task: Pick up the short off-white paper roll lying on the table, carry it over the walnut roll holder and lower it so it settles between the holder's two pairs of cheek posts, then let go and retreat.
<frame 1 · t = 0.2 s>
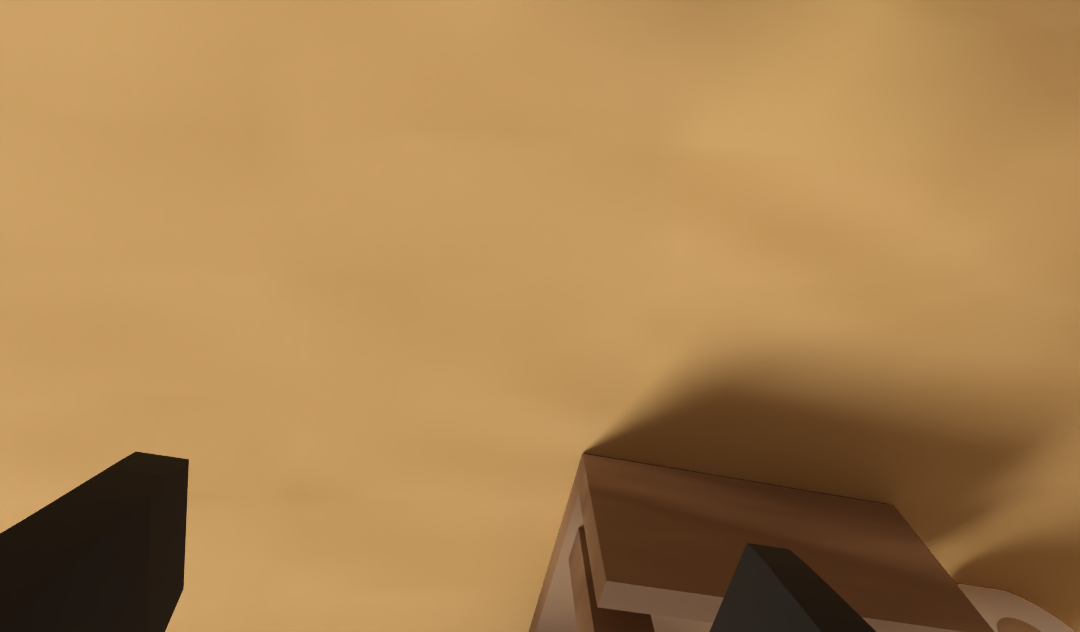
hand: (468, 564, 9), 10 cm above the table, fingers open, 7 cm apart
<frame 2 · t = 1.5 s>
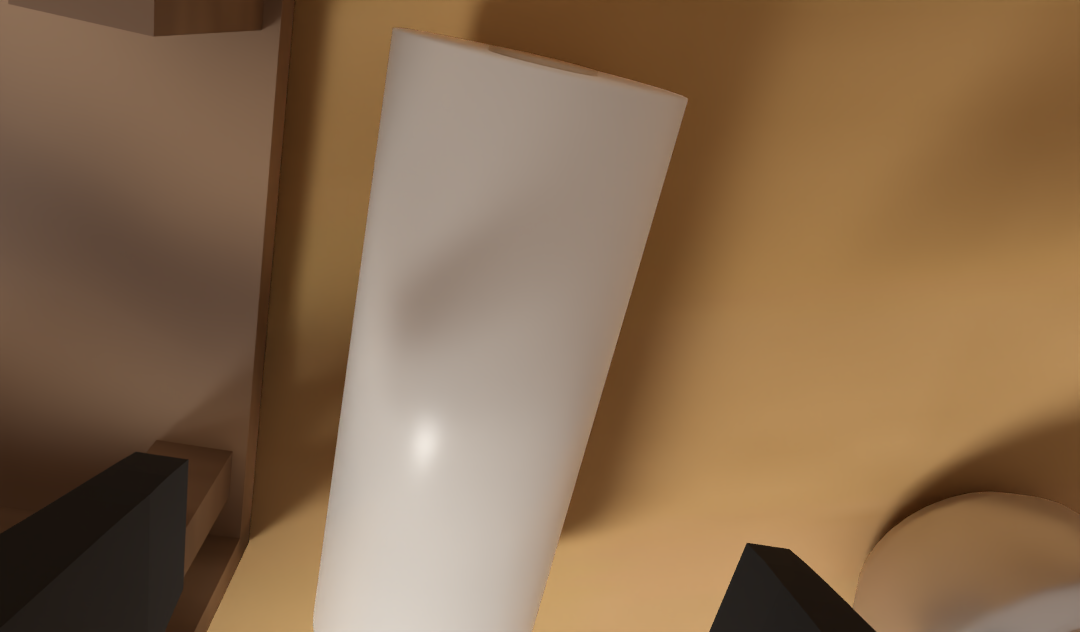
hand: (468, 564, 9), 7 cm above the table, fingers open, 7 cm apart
plastic bottle: (939, 552, 19), on the table
roll: (477, 333, 16), on the table
holder: (14, 207, 14), on the table
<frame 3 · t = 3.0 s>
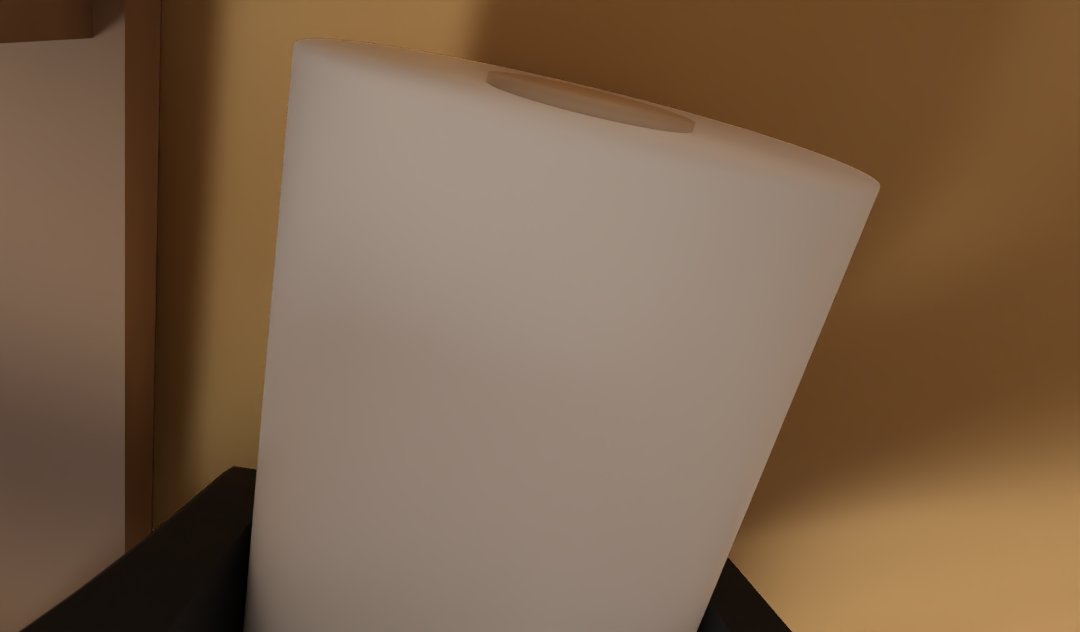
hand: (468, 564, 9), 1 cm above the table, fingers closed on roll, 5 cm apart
roll: (472, 495, 10), on the table, touching gripper
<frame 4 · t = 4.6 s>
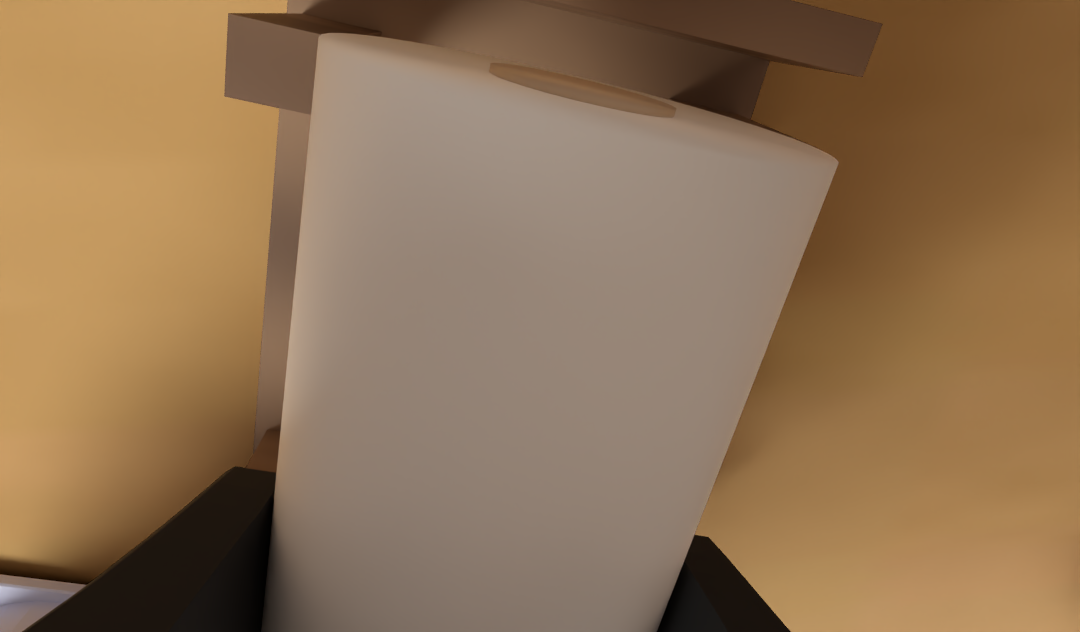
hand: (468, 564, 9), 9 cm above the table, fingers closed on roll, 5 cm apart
roll: (501, 468, 11), point 7 cm above the table, tilted 10°, touching gripper
holder: (481, 294, 18), on the table
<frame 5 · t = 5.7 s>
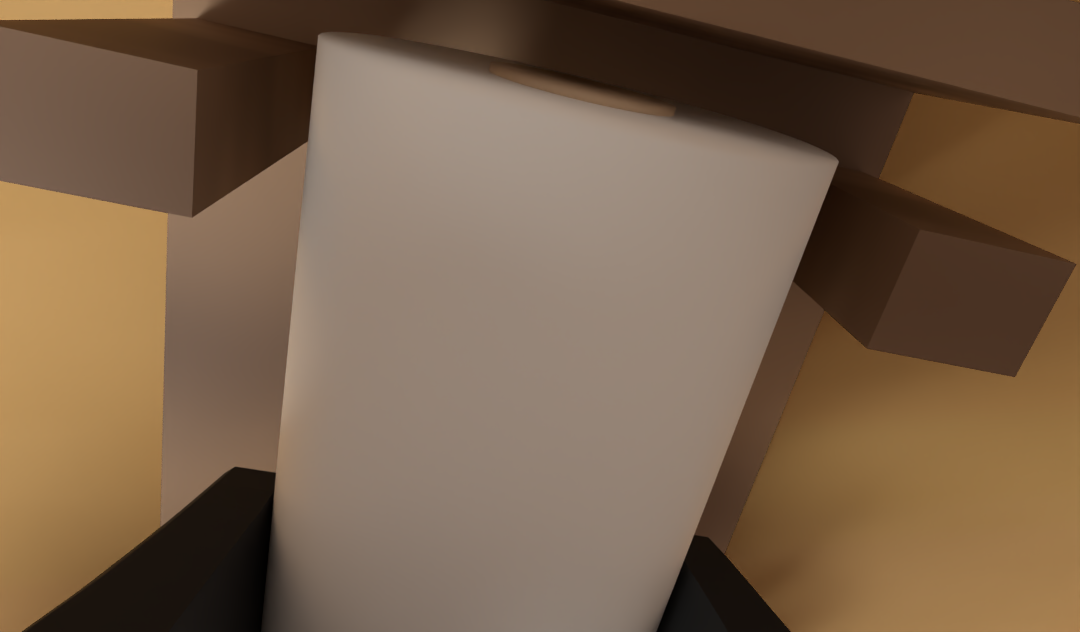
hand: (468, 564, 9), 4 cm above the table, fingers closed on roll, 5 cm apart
roll: (500, 467, 11), point 2 cm above the table, tilted 11°, touching gripper
holder: (476, 413, 13), on the table
when the fingers open (4 cm above the table, at t = 6.6 s): roll stays where it is, resting on holder.
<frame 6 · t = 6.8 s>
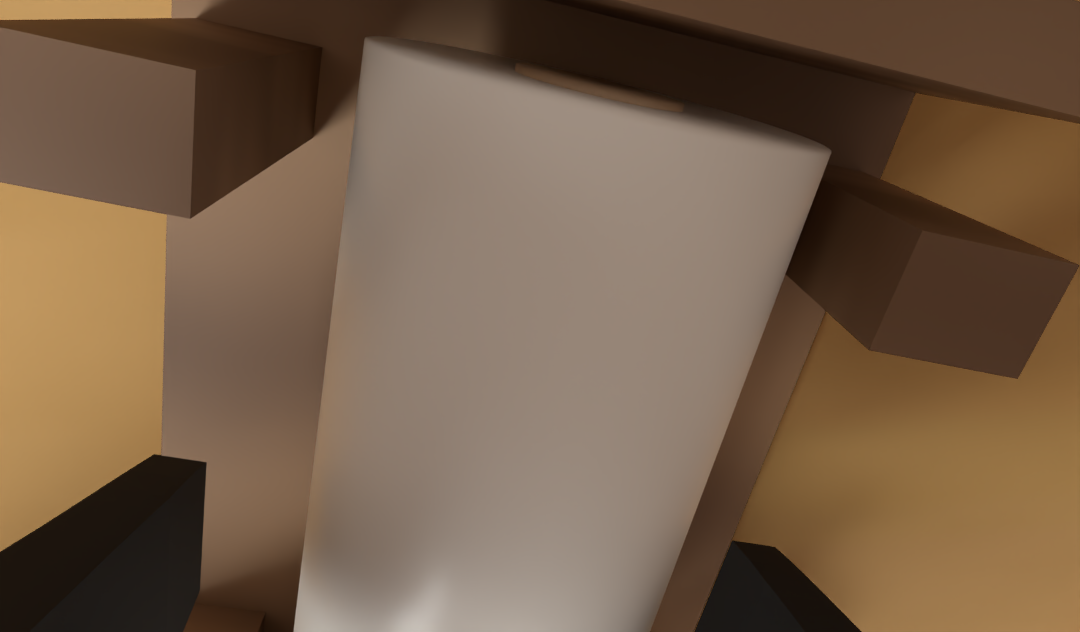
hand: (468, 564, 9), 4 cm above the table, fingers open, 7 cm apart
roll: (499, 442, 12), point 1 cm above the table, touching holder
holder: (476, 414, 13), on the table
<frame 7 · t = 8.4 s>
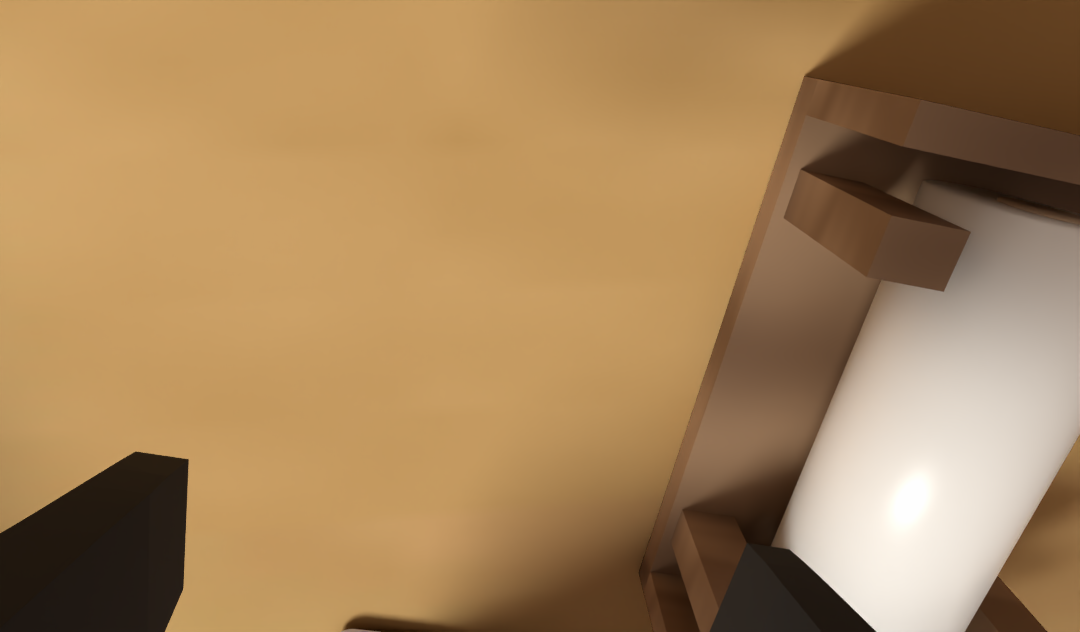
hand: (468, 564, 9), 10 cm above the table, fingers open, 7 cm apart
roll: (905, 406, 19), point 1 cm above the table, tilted 18°, touching holder
holder: (875, 389, 20), on the table
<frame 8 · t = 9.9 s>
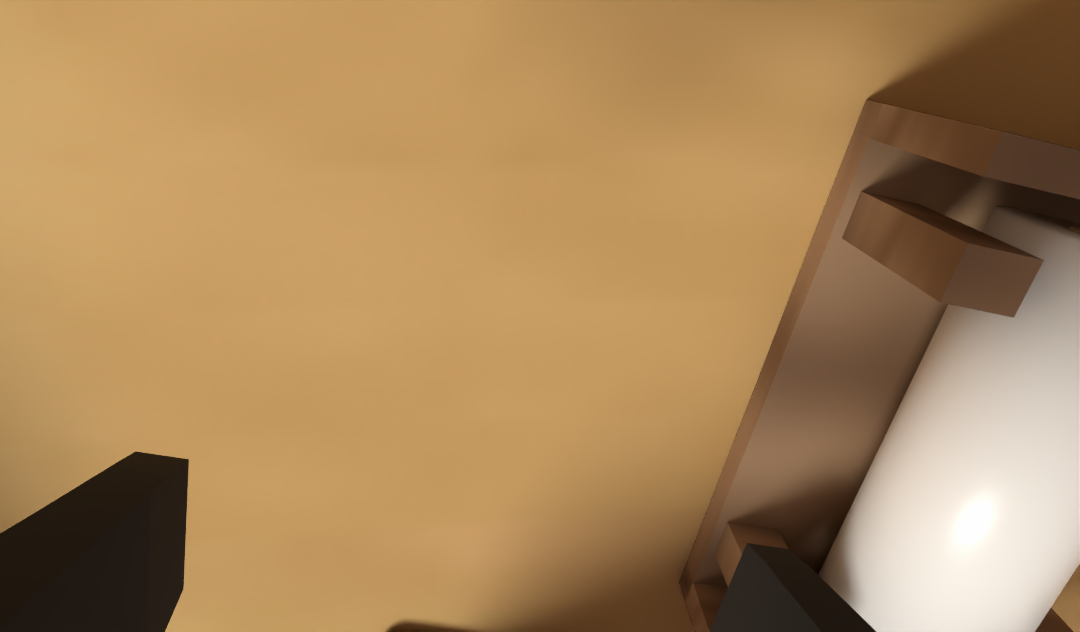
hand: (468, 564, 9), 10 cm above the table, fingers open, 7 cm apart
roll: (950, 423, 20), point 1 cm above the table, tilted 11°, touching holder
holder: (920, 406, 20), on the table
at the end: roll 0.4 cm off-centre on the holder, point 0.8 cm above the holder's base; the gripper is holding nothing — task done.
